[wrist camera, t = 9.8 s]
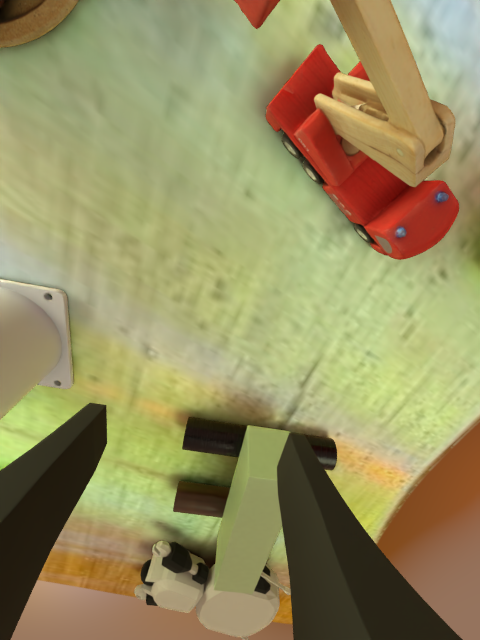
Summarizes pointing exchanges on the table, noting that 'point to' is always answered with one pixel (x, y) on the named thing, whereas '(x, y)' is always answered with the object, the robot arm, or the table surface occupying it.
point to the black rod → (231, 437)
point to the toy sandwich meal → (30, 19)
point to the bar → (250, 512)
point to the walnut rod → (201, 499)
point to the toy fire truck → (369, 130)
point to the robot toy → (207, 592)
